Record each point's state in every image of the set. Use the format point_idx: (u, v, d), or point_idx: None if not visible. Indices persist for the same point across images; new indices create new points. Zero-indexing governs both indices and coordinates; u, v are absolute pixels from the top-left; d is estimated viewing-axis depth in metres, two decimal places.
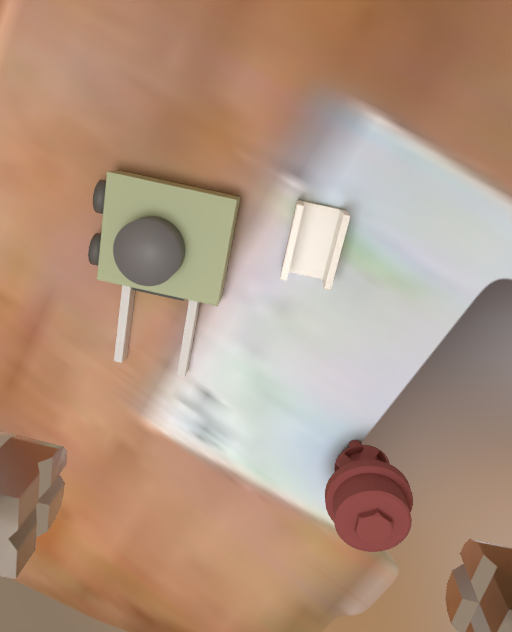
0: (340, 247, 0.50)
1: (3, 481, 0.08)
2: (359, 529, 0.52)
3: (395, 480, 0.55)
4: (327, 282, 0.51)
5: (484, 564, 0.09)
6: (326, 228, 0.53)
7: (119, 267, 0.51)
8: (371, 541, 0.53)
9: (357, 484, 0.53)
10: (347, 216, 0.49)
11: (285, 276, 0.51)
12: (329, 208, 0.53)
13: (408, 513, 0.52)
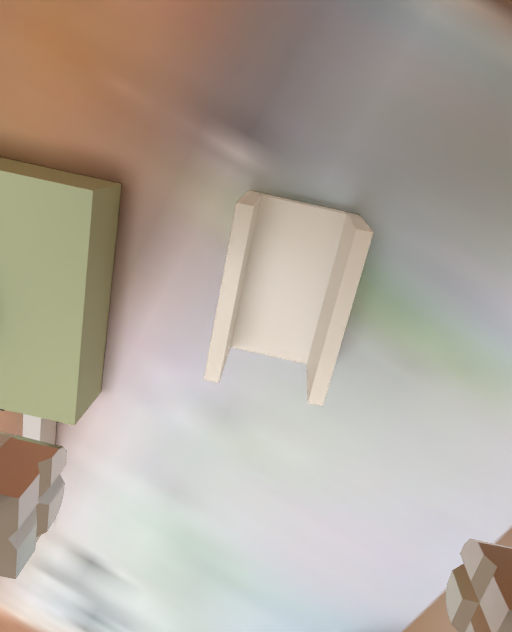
0: (347, 309, 0.20)
1: (3, 481, 0.08)
2: None
3: None
4: (315, 389, 0.21)
5: (484, 564, 0.09)
6: (314, 255, 0.23)
7: None
8: None
9: None
10: (365, 233, 0.19)
11: (215, 373, 0.22)
12: (321, 210, 0.23)
13: None
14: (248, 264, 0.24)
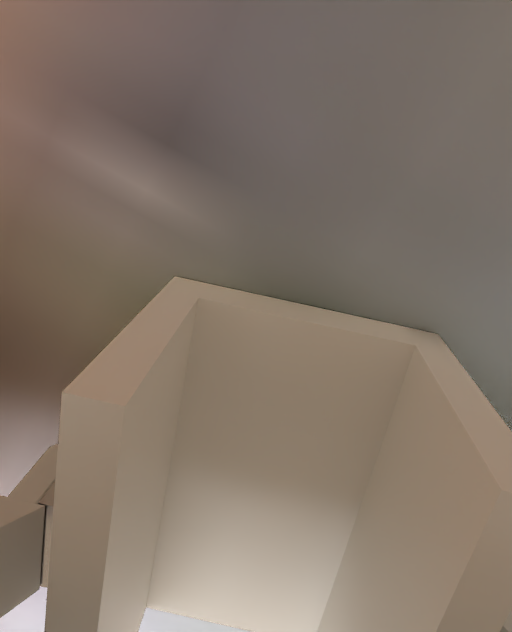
0: None
1: None
2: None
3: None
4: None
5: None
6: (331, 434, 0.10)
7: None
8: None
9: None
10: None
11: None
12: (350, 336, 0.09)
13: None
14: (174, 450, 0.10)
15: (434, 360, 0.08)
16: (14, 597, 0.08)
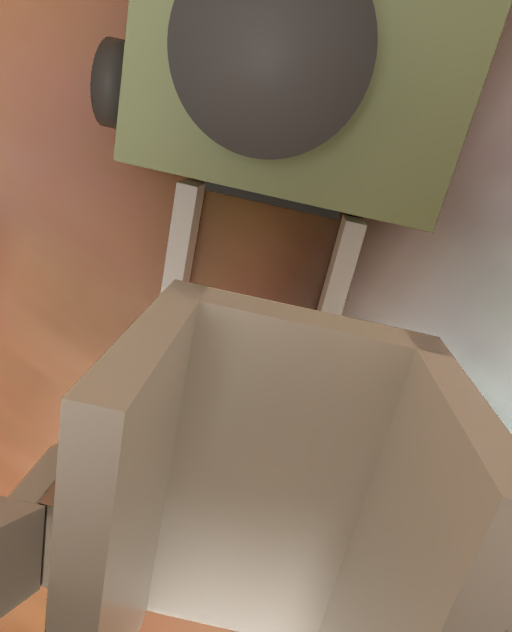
0: None
1: None
2: None
3: None
4: None
5: None
6: (331, 438, 0.10)
7: (184, 99, 0.17)
8: None
9: None
10: None
11: None
12: (350, 339, 0.09)
13: None
14: (174, 453, 0.10)
15: (435, 363, 0.08)
16: (14, 597, 0.08)
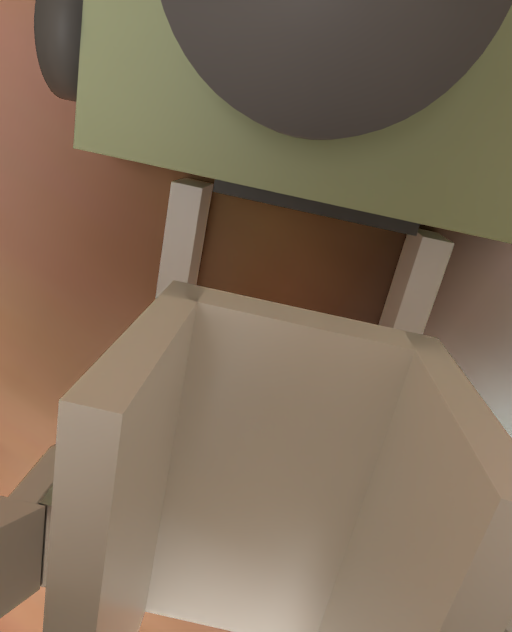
0: None
1: None
2: None
3: None
4: None
5: None
6: (330, 439, 0.10)
7: (182, 32, 0.10)
8: None
9: None
10: None
11: None
12: (349, 340, 0.09)
13: None
14: (173, 454, 0.10)
15: (434, 365, 0.08)
16: (15, 596, 0.08)
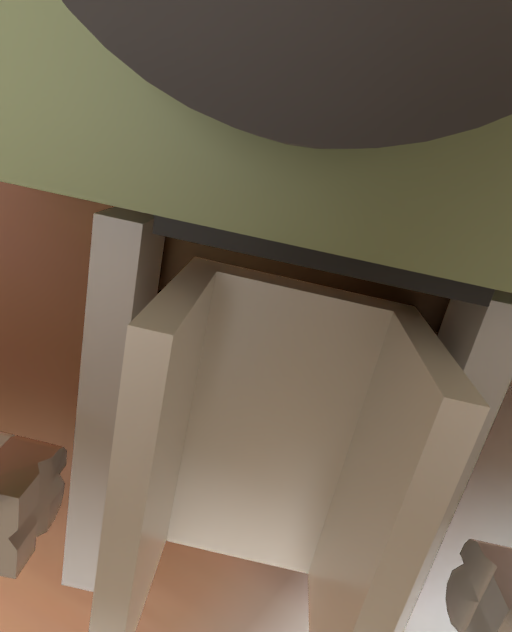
0: (409, 572, 0.08)
1: (3, 481, 0.08)
2: None
3: None
4: None
5: (484, 564, 0.09)
6: (324, 387, 0.12)
7: None
8: None
9: None
10: (469, 409, 0.07)
11: None
12: (340, 303, 0.11)
13: None
14: (194, 401, 0.12)
15: (407, 321, 0.10)
16: None
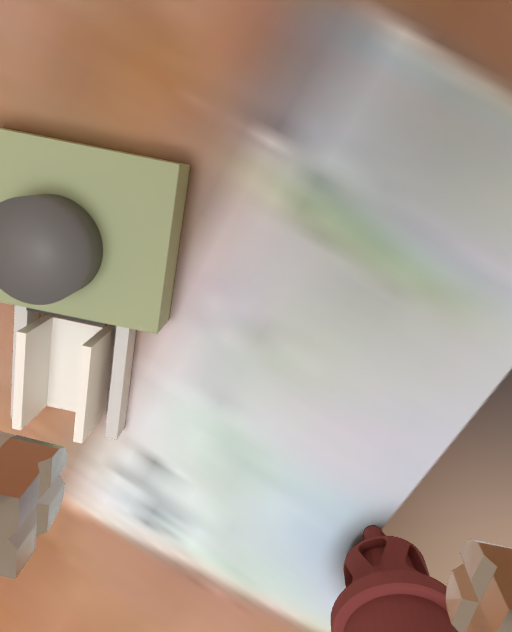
0: (85, 388, 0.35)
1: (3, 481, 0.08)
2: None
3: (441, 605, 0.35)
4: (76, 433, 0.37)
5: (484, 564, 0.09)
6: None
7: None
8: None
9: (382, 617, 0.33)
10: (87, 347, 0.34)
11: (18, 424, 0.37)
12: (88, 325, 0.38)
13: None
14: (50, 356, 0.39)
15: (103, 330, 0.38)
16: None
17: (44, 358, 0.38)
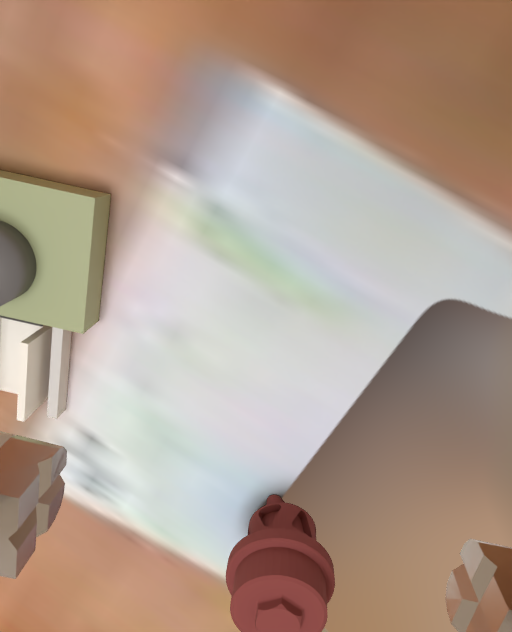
0: (24, 377, 0.43)
1: (3, 481, 0.08)
2: (259, 624, 0.40)
3: (310, 556, 0.43)
4: (18, 413, 0.44)
5: (484, 564, 0.09)
6: None
7: None
8: None
9: (259, 564, 0.41)
10: (25, 344, 0.42)
11: None
12: (31, 324, 0.46)
13: (322, 603, 0.40)
14: (0, 349, 0.47)
15: (42, 328, 0.45)
16: None
17: None
